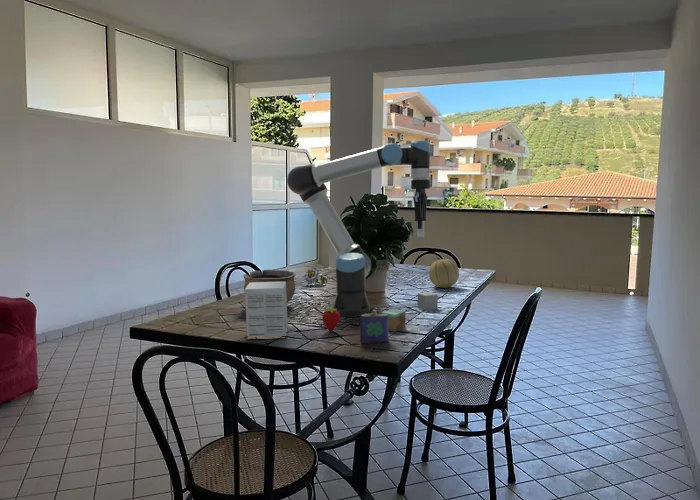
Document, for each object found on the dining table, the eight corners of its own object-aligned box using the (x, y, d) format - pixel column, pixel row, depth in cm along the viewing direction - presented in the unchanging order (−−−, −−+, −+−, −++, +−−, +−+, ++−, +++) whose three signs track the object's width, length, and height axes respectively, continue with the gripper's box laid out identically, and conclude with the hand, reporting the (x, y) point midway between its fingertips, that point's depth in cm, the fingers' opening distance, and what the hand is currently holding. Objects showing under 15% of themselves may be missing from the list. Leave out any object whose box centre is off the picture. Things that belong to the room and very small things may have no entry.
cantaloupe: (459, 290, 246) (459, 260, 244) (428, 290, 248) (428, 259, 247) (458, 285, 260) (458, 256, 259) (429, 284, 263) (428, 256, 261)
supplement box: (251, 330, 183) (249, 282, 181) (288, 328, 184) (286, 280, 182) (246, 340, 170) (243, 289, 168) (286, 339, 171) (284, 287, 169)
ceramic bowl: (268, 300, 233) (266, 267, 231) (306, 305, 222) (305, 270, 220) (233, 310, 214) (232, 275, 213) (274, 316, 203) (272, 278, 201)
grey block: (424, 310, 208) (424, 295, 207) (417, 307, 214) (417, 293, 213) (437, 308, 210) (437, 294, 209) (430, 305, 216) (430, 291, 215)
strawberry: (344, 330, 180) (343, 302, 179) (334, 335, 173) (333, 307, 172) (329, 328, 183) (328, 301, 181) (318, 334, 176) (318, 305, 175)
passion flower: (310, 296, 267) (297, 277, 267) (320, 288, 277) (306, 271, 277) (325, 285, 262) (311, 267, 262) (334, 278, 271) (320, 260, 271)
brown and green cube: (405, 311, 181) (405, 328, 182) (392, 309, 185) (392, 325, 186) (394, 314, 177) (394, 331, 177) (381, 312, 181) (381, 328, 182)
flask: (388, 340, 167) (387, 308, 166) (389, 342, 164) (389, 310, 163) (360, 341, 166) (359, 309, 165) (361, 344, 164) (360, 311, 162)
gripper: (424, 178, 201) (425, 238, 204) (433, 179, 213) (433, 235, 216) (406, 179, 204) (407, 238, 207) (416, 179, 216) (416, 235, 219)
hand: (420, 236), depth 211 cm, fingers closed
